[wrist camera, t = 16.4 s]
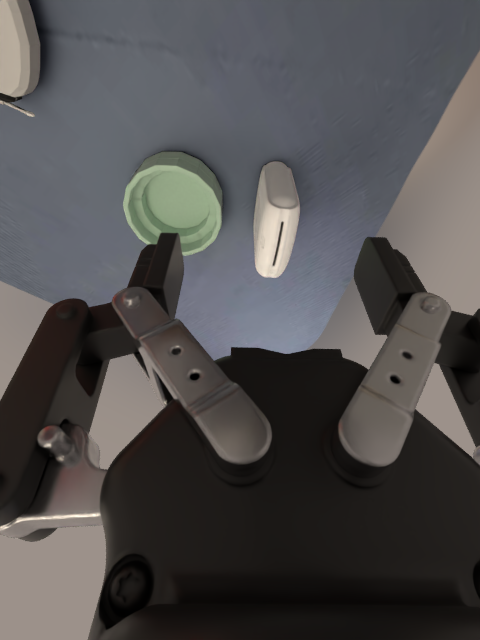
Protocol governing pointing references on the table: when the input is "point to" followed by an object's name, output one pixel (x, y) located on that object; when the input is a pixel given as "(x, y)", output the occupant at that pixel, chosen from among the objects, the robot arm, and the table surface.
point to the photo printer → (275, 219)
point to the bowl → (174, 201)
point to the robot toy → (18, 52)
